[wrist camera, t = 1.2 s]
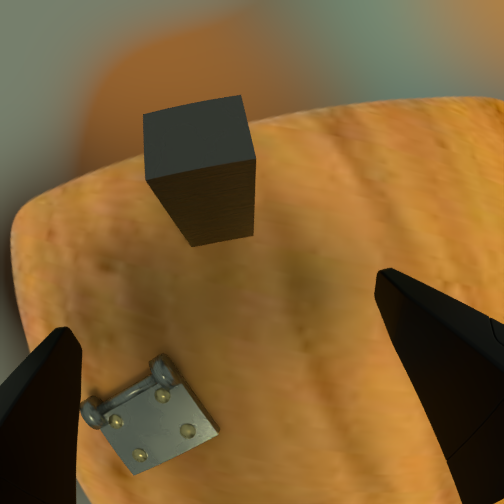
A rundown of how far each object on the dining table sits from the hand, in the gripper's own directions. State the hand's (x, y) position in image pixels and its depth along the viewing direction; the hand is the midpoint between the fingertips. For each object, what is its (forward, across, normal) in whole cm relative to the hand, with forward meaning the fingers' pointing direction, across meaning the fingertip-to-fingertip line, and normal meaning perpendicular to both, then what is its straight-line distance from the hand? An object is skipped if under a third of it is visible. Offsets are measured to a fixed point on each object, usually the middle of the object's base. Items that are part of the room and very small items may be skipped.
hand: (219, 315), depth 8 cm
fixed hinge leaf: (+5, +8, +14) cm, 17 cm away
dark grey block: (+15, 0, +4) cm, 16 cm away
